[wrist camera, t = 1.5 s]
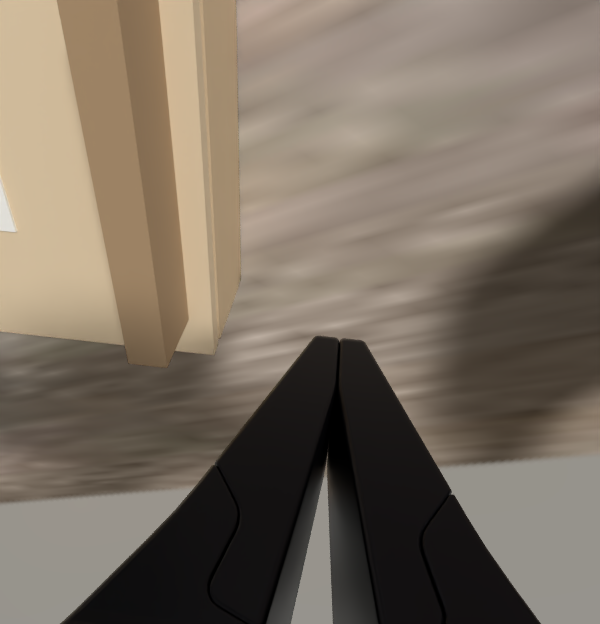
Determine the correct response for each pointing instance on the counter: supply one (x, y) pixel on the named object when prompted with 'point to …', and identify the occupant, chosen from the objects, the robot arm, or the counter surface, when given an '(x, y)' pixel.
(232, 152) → the box
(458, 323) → the counter surface
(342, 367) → the robot arm
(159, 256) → the lid
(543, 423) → the counter surface
